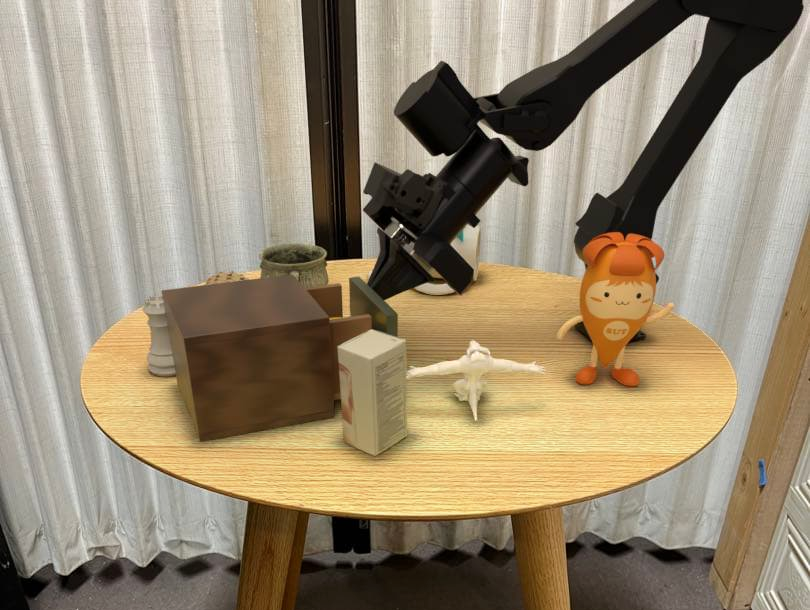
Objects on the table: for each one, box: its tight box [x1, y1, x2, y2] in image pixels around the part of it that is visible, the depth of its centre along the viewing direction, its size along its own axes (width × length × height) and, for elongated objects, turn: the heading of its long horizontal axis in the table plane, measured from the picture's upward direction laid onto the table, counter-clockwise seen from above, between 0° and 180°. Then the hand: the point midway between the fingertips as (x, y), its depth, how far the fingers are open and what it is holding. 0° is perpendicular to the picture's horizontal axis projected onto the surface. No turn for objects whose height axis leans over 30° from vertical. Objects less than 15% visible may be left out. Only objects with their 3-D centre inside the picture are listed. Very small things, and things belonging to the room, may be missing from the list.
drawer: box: [305, 276, 399, 401], centre depth 86 cm, size 14×11×9 cm
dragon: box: [406, 339, 548, 421], centre depth 83 cm, size 15×7×8 cm, turn 96°
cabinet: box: [161, 274, 335, 442], centre depth 83 cm, size 14×13×11 cm
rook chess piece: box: [142, 294, 176, 377], centre depth 90 cm, size 4×4×8 cm
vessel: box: [258, 242, 329, 288], centre depth 107 cm, size 12×9×6 cm
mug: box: [414, 224, 482, 296], centre depth 113 cm, size 12×9×12 cm
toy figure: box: [555, 232, 675, 387], centre depth 88 cm, size 12×8×15 cm
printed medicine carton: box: [338, 330, 408, 457], centre depth 77 cm, size 5×4×10 cm
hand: (364, 303), depth 90 cm, fingers closed, pressing on drawer
